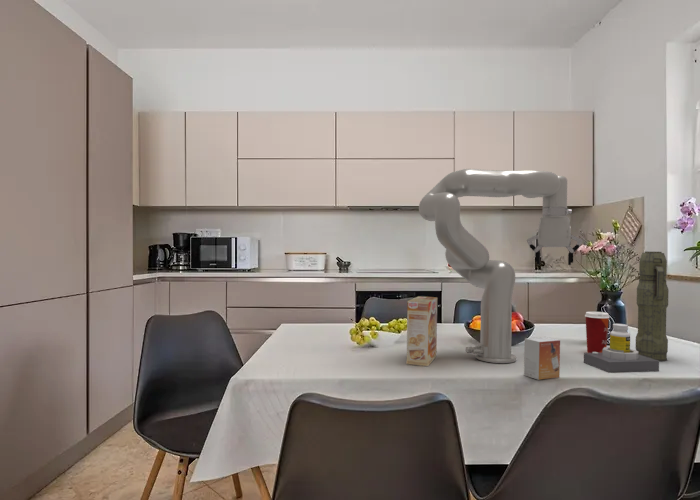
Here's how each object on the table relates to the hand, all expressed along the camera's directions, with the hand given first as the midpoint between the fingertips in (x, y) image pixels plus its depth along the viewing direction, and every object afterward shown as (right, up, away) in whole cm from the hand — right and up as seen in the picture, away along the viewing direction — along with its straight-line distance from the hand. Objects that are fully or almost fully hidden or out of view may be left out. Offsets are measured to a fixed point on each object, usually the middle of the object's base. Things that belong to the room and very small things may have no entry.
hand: (553, 264), depth 163 cm
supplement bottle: (+14, -28, -15) cm, 34 cm away
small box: (-15, -31, -27) cm, 43 cm away
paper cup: (+16, -31, +3) cm, 34 cm away
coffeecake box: (-45, -30, -9) cm, 55 cm away
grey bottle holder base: (+14, -31, -15) cm, 37 cm away
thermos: (+31, -31, -3) cm, 44 cm away
